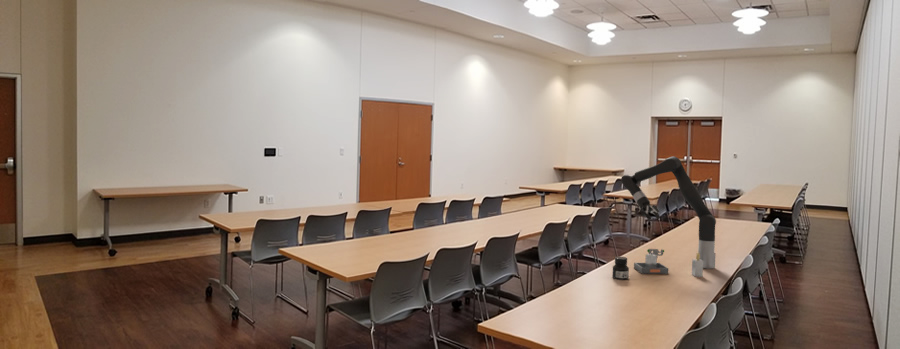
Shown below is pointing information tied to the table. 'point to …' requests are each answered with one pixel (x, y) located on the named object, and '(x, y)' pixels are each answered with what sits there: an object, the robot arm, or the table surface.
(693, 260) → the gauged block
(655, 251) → the mechanical component
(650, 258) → the block
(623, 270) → the ink bottle
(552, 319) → the table surface
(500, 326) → the table surface
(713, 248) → the robot arm
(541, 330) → the table surface
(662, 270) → the tray
